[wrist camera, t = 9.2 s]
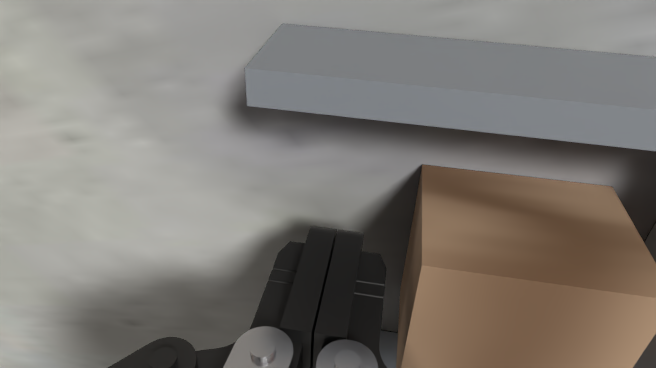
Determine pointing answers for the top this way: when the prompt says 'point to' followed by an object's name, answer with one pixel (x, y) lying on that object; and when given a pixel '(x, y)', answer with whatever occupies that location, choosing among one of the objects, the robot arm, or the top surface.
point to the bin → (461, 93)
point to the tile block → (522, 275)
